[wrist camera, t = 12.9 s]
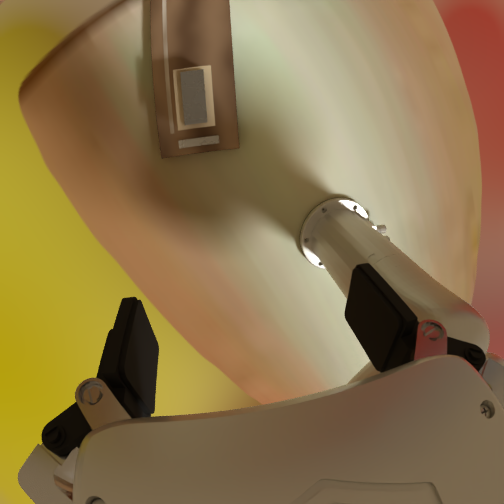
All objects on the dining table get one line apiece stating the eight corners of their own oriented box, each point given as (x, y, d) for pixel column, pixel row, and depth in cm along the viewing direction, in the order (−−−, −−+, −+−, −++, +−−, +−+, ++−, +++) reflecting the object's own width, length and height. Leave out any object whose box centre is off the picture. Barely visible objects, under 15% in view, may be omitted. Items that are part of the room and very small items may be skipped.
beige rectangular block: (209, 72, 27) (210, 64, 23) (213, 124, 31) (215, 125, 26) (177, 76, 27) (172, 69, 22) (181, 128, 30) (177, 130, 26)
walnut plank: (225, -37, 20) (227, -46, 17) (237, 146, 35) (240, 149, 32) (154, -29, 19) (151, -37, 16) (163, 156, 34) (160, 159, 31)
